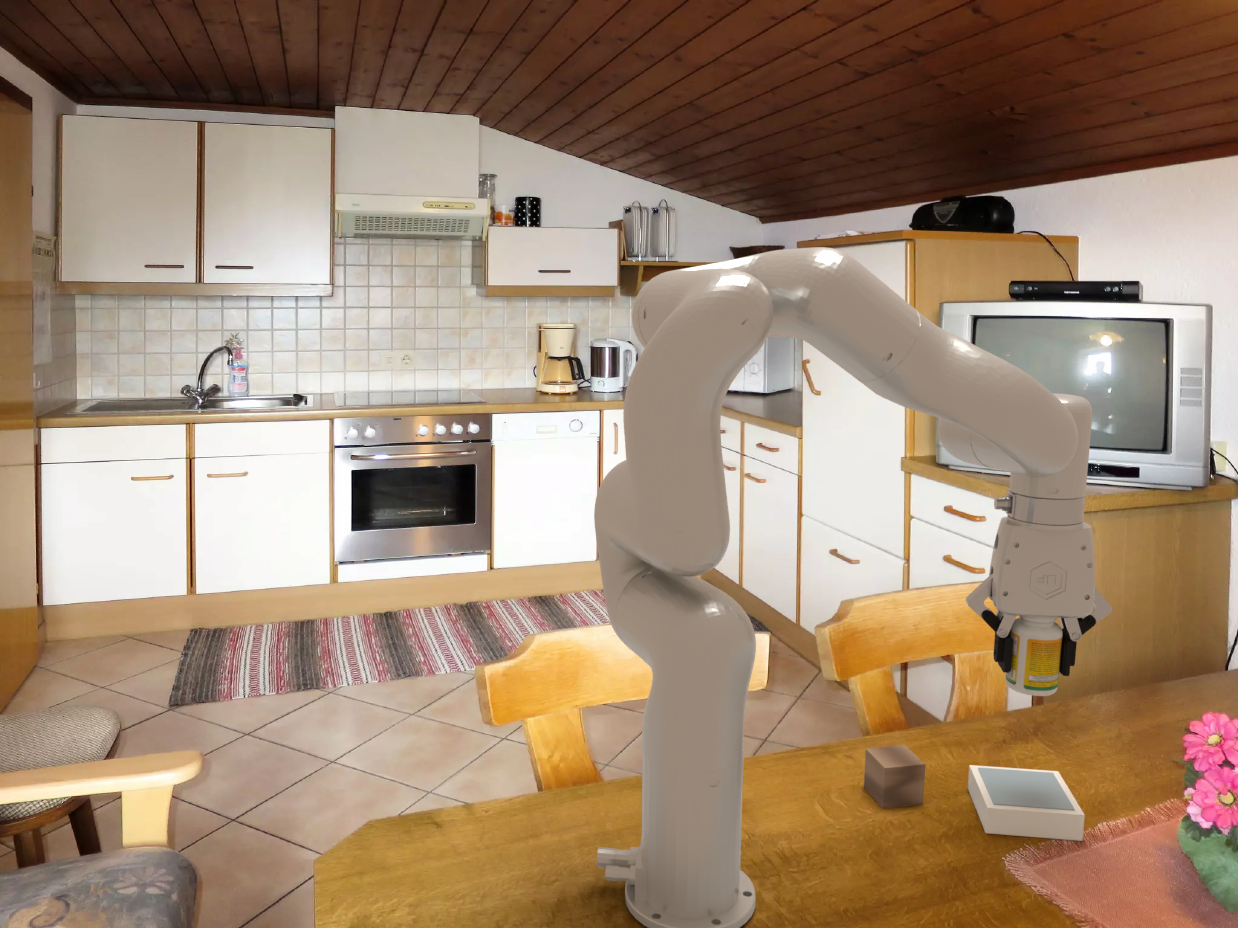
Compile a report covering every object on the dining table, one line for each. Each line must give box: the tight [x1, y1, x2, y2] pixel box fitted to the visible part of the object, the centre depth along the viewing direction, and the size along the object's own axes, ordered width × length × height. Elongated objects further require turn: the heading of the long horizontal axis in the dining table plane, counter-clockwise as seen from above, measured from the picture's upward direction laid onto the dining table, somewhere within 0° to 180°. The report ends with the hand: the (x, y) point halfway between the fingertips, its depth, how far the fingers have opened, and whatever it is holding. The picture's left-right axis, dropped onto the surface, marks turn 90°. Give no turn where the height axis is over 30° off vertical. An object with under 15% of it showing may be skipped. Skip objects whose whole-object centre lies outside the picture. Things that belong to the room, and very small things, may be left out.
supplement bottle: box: [1005, 616, 1063, 697], centre depth 109 cm, size 5×5×10 cm
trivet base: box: [967, 764, 1086, 842], centre depth 112 cm, size 10×10×3 cm
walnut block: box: [863, 744, 926, 809], centre depth 116 cm, size 5×5×5 cm
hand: (1032, 668), depth 109 cm, fingers closed on supplement bottle, 5 cm apart
